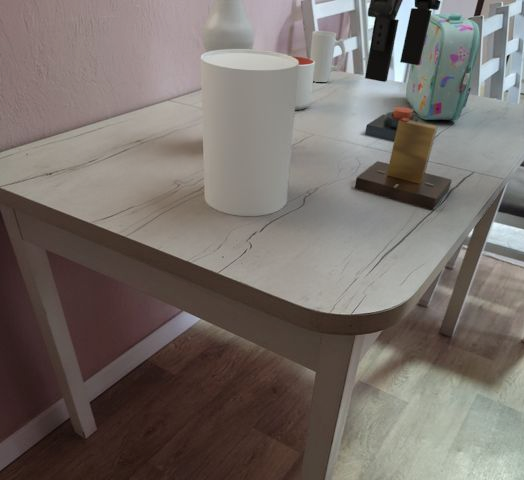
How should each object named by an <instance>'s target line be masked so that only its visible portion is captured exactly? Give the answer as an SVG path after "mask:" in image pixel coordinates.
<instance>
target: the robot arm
mask: <svg viewBox="0 0 524 480" xmlns="http://www.w3.org/2000/svg"><path fill="white" fill-rule="evenodd" d="M403 1H404V0H370V3H369V5H368V9H367V17H369V18H370V17H371V18H374V21H373V23H374V24H373V28H372V34H371V40H370V46H369V53H368V57H367V64H366V69H365V75H364V79H367V80H372V81H377V82H384V83H385V82H387V81H388V76H389V71H390V67H391V62H392V56H393V51H394V46H395V41H396V36H397V31H398V26H399V21H400V20H399V19H396V18H397V16H398V13H399V10H400V8H401V6H402V3H403ZM440 6H441V0H414V7H412V8H410V14H409V17H408V22H407V28H406V32H405V37H404V42H403V47H402V52H401V56H400V61H399V63H401V64H408V65H411V64H414V65H419V64H420V60H421V56H422V51H423V47H424V43H425V38H426V34H427V30H428V25H429V21H430V17H431V15H432V12H433V10H434V11H438V10H439V9H440Z"/></svg>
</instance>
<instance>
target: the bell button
mask: <svg viewBox="0 0 524 480" xmlns="http://www.w3.org/2000/svg"><path fill="white" fill-rule="evenodd" d="M393 112H394V113H393V117H395V118H398V119H402V118H408V119H411V118H412V114H414V111H413V110H412V108H410V107H405V106H397V107H394V109H393Z"/></svg>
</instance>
